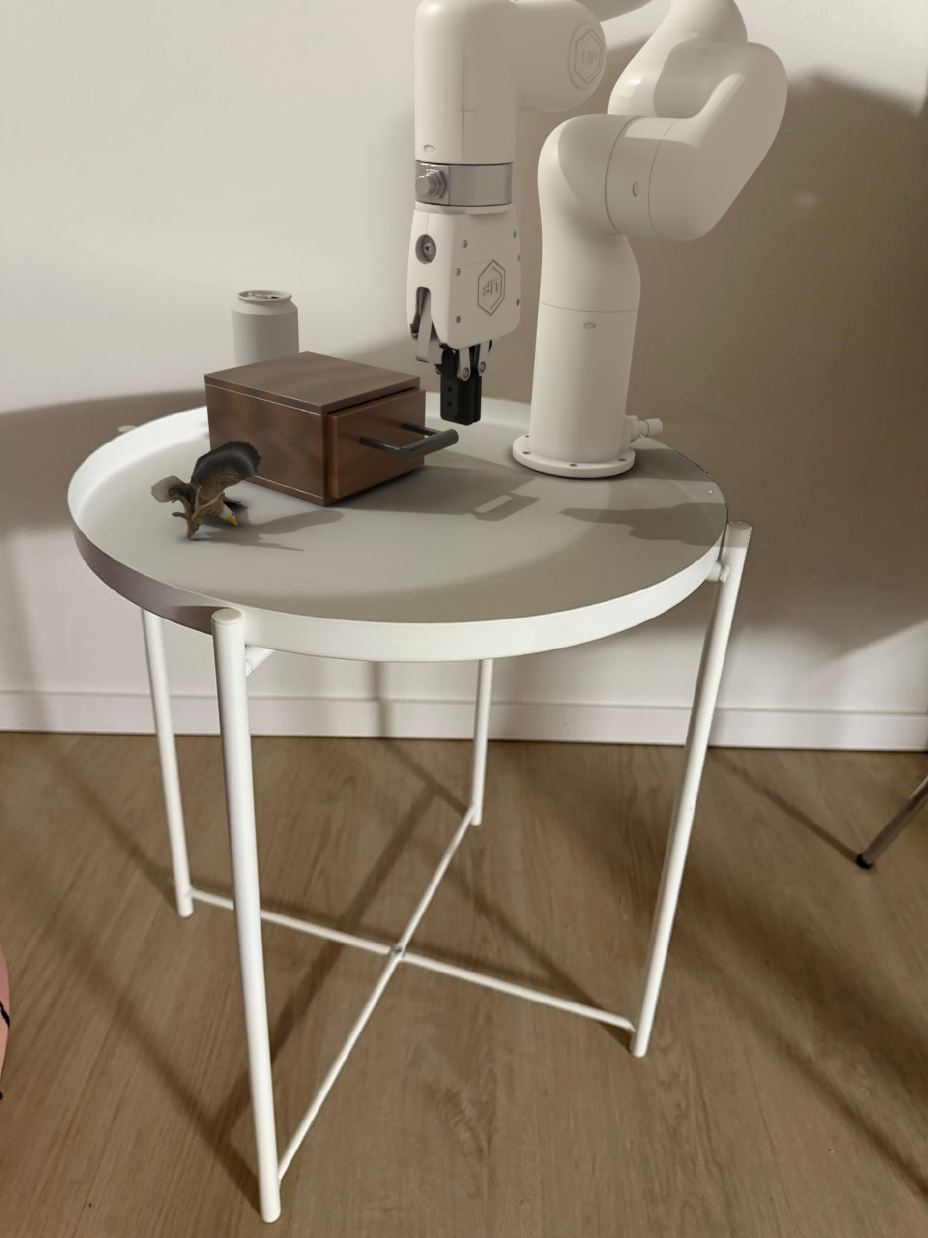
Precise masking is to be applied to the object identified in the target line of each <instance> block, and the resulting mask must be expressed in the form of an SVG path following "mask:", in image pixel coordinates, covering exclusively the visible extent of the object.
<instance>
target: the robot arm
mask: <svg viewBox="0 0 928 1238" xmlns="http://www.w3.org/2000/svg"><path fill="white" fill-rule="evenodd" d="M652 1H653V0H421V2H420V3H419V5H418V7H416V11H415V15H414V28H413V29H414V30H413V41H414V42H413V45H414V46H413V48H414V49H413V54H414V55H413V57H414V60H413V61H414V62H413V63H414V66H413V67H414V159H415V160H414V184H415V185H414V195H415V197H414V201H415V202H414V204H415V205H414V207H415V209H413V214H412V221H411V229H410V237H409V247H408V256H407V271H406V322H407V331H408V333H409V336H410V338H411V339H412V340H414V341H416V348H415V359H416V361H417V362H421V363H426V364H432V365H433V366H434V369H435V373H436V375H438V376H440V377H439V380H440V381H439V387H440V388H439V416H440V419H441V420H443V421H446V422H450V423H453V424H457V425H462V426H465V427H469V426H471V425H473V424H476V423H477V422H480V421H481V419H482V393H483V375H484V374H485V372H486V370H487V367H488V366H487V365H488V359H489V353H490V351H491V349H492V348H493V347H494V346H495V345H496V344H498V343H499V342H500V341H502V339H504V336H505V335H508V334H510V333H511V332H513V331H514V330H515V329H516V328H517V327H518V325H519V324H520V320H521V319H520V318H521V299H522V298H521V297H522V287H521V286H522V274H521V273H522V272H521V271H522V269H521V268H522V267H521V242H520V229H519V219H518V215H517V209H516V208H517V207H516V205H515V204H514V185H515V183H514V182H515V181H514V180H515V158H516V138H517V137H516V133H517V111H520V112H534V113H535V112H537V113H557V112H565V111H568V110H571V109H574V108H576V107H578V106H580V105H581V104H583V103H584V102H586V101H587V100H589V98H590V97H591V96H592V95H593V94H594V92H595V91H596V90H597V88H598V87H599V85H600V83H601V81H602V79H603V77H604V74H605V71H606V65H607V57H608V46H607V45H608V44H607V39H606V34H605V31H604V29H603V26H602V24H601V23H603V22H606V21H610V20H612V19H615V18H619V17H621V16H624V15H627V14H629V13H632V12H634V11H636V10H639V9H641V8H644V7H645V6H646V5H648V4H649V3H651V2H652ZM668 3H669V4H668V11H667V14H666V16H665V18H664V19H663V21H662V22H661V23H660V24H659V26H658V27H657V29H656V30H655V31H654V32H653V33H652V34H651V36H650V37H649V38H648V40H647V41H646V42H645V44H644V45H643V46H642V47H641V48H640V49H639V50H638V52H637V53H636V54H635V56H634V57H633V58H632V59H631V61H630V62H629V63H628V64H627V65H626V67H625V69H624V70H623V71H622V72H621V74H620V75H619V78H618V79H617V80H616V82H615V84H614V86H613V88H612V90H611V93H610V96H609V100H608V105H607V113H593V114H591V113H590V114H583V115H578V116H575V117H572V118H569V119H567V120H565V121H563V122H561V123H560V124H559V125H557V126H556V127H555V128H553V130H552V131H551V132H550V134H549V135H548V136H547V138H546V140H545V141H544V144H543V145H542V148H541V151H540V153H539V159H538V165H537V192H538V199H539V209H540V210H539V212H540V220H541V239H542V240H541V241H542V244H541V245H542V248H541V250H542V251H541V270H540V271H541V272H540V273H541V275H540V286H539V299H538V312H537V313H538V314H537V325H536V337H535V349H534V365H533V375H532V376H533V377H532V391H531V401H530V415H529V429H528V433H526V434H523V435H521V436H519V437H518V438H516V439H515V440H514V441H513V445H512V457H513V458H514V459H515V461H517V462H518V463H519V464H520V465H523V466H524V467H527V469H531V470H533V471H536V472H540V473H544V474H547V475H553V476H558V477H566V478H578V479H579V478H580V479H591V478H593V479H594V478H606V477H611V476H617V475H619V474H622V473H625V472H627V471H629V470H630V469H631V468H632V467H634V464H635V461H636V460H635V459H636V452H635V450H634V448H633V447H632V446H631V443H635V442H636V441H637V440H638V439H641V438H642V437H641V436H640V435H642V436H644V437H647V438H646V439H649V438H650V439H651V438H659V437H660V436H662V434H663V431H664V426H663V425H664V424H663V421H662V420H661V419H660V418H658V417H657V418H649V419H648V418H647V419H642V420H639V418H638V416H637V415H627V414H626V409H627V402H628V401H627V400H628V393H629V384H630V377H631V369H632V362H633V361H632V360H633V355H634V354H633V352H634V346H635V345H634V344H635V338H636V337H635V336H636V329H637V321H638V313H639V306H640V299H641V289H642V287H641V275H640V270H639V266H638V263H637V260H636V257H635V254H634V251H633V249H632V247H631V245H630V242H629V240H628V237H627V236H633V237H642V238H650V239H656V240H657V239H658V240H665V241H666V240H667V241H682V242H685V241H693V240H696V239H699V238H701V237H703V236H705V235H706V234H708V233H709V232H710V231H712V229H713V228H714V227H715V226H716V225H717V224H718V223H719V222H720V221H721V220H722V218H723V217H724V215H725V214H726V212H727V211H728V210H729V208H730V207H731V205H732V204H733V203H734V202H735V200H736V198H737V197H738V195H739V194H740V192H741V191H742V190H743V188H744V187H745V185H746V184H747V183H748V182H749V180H750V178H751V177H752V176H753V174H754V173H755V171H756V170H757V169H758V167H759V166H760V164H761V163H762V162H763V160H764V159H765V157H766V155H767V154H768V153H769V150H770V149H771V148H772V146H773V143H774V141H775V139H776V137H777V135H778V133H779V130H780V127H781V125H782V121H783V118H784V115H785V109H786V105H787V98H788V79H787V78H788V77H787V73H786V72H787V71H786V68H785V66H784V64H783V61H782V59H781V58H780V56H779V55H778V54H777V53H776V51H775V50H773V49H772V48H771V47H769V46H767V45H766V44H765V45H764V44H762V43H759V42H752V41H748V38H749V37H748V31H747V26H746V24H745V21H744V18H743V14H742V13H741V10H740V8H739V7H738V5H737V3H736V1H735V0H668ZM642 439H643V438H642Z"/></svg>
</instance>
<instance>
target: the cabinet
mask: <svg viewBox="0 0 928 1238" xmlns="http://www.w3.org/2000/svg"><path fill="white" fill-rule="evenodd" d="M203 383H204V392H205V393H204V394H205V403H206V404H205V405H206V414H207V416H206V417H207V426H208V441H209V451H210V450H213V449H215V448H217V447H218V446H221V445H222V444H224V443H225V442H229V441H234V440H235V441H238V440H239V441H244V442H249V443H250V445H253V446H254V448H255V449H257V450H258V455H260V456H261V460H260V466H259V467H258V468H257V469H258V472H257V473H256V474H255V475H254V476H252V477H250V478H248V479H245V480H244V481H247V482H250V483H253V484H256V485H259V486H261V487H265V488H267V489H270V490H273V491H277V492H279V493H282V494H286V495H288V496H292V497H294V498H298V499H300V500H303V501H306V502H309V503H311V504H315V505H318V506H321V507H326V506H329V505H331V504H334V503H337V502H338V501H341V500H343V499H346V498H349V497H351V496H353V495H356V494H358V493H361V492H364V491H366V490H368V489H371V488H373V487H375V486H378V485H380V484H383V483H386V482H389V481H391V480H393V479H396V478H398V477H400V476H403V475H406V474H407V473H410V472H413V471H415V470H418V469H419V466H418V467H415V468H413V469H410V470H408V471H405V472H403V473H400V474H398V475H395V476H393V477H390V478H388V479H386V480H383V481H381V482H378V483H376V484H373V485H371V486H368V487H366V488H363V489H361V490H358V491H356V492H353V493H351V494H348V495H346V496H343V497H341V498H335V497H332V496H329V494H328V455H327V416H326V415H327V413H329V412H332V411H335V410H339V409H342V408H345V407H349V406H352V405H355V404H358V403H362V402H365V401H368V400H372V399H375V398H378V397H382V396H385V395H388V394H392V393H395V392H398V391H400V392H403V391H407V390H410V389H413V388H420V389H421V387H420V386H421V376H418V375H413V374H410V373H405V372H401V371H396V370H391V369H388V368H383V367H379V366H375V365H370V364H366V363H362V362H357V361H352V360H348V359H344V358H340V357H336V356H331V355H326V354H323V353H318V352H313V351H310V350H305V351H301V352H299V353H296V354H292V355H287V356H283V357H279V358H274V359H270V360H266V361H261V362H257V363H252V364H248V365H244V366H239V367H235V366H234V367H230V368H226V369H222V370H218V371H213V372H209V373H204V374H203Z"/></svg>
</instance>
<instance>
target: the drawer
mask: <svg viewBox="0 0 928 1238" xmlns="http://www.w3.org/2000/svg"><path fill="white" fill-rule="evenodd" d="M426 401H427V389H423V388H421V387H420V388H413V389H410V390H407V391H403V392H400V391H398V392H395V393H392V394H388V395H385V396H382V397H378V398H375V399H372V400H368V401H365V402H362V403H358V404H355V405H352V406H349V407H345V408H342V409H339V410H335V411H332V412H329V413H327V415H326V416H327V455H328V494H329V496H332V497H335V498H341V497H343V496H346V495H348V494H351V493H353V492H356V491H358V490H361V489H363V488H366V487H368V486H371V485H373V484H376V483H378V482H381V481H383V480H386V479H388V478H390V477H393V476H395V475H398V474H400V473H403V472H405V471H408V470H410V469H413V468H415V467H418V468H419V467H420V466H423V465H425V456H428V455H431V454H433V453H436V452H438V451H440V450H443V449H445V448H448V447H451V446H454V445H456V444H458V442H459V439H460V435H459V433H458V430H456V429H454V428H449V429H446V430H443V431H442V430H438V429H435V428H431V427H427V426H426V409H427V408H426V407H427V406H426V404H427V403H426Z"/></svg>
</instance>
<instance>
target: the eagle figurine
mask: <svg viewBox="0 0 928 1238" xmlns="http://www.w3.org/2000/svg"><path fill="white" fill-rule="evenodd" d="M260 460H261V456H260V455H258V450H257V449H255V448H254V446H253V445H250V443H249V442H244V441H239V440H238V441H235V440H234V441H229V442H225V443H224V444H222V445H221V446H218V447H217V448H215V449H213V450H210V449H209V451H208V452H206V453H204V454H202V455H200V456H199V457H198V458H197V459H196V461H195V465H194V468H193V471H192V474H191V476H190V481H189V482H185V481H183V480H181V479H180V478H179V477H177V475H171V474H170V475H169V476H166V477H163V478H161V479H159V480H158V481H156V482H154V483H153V484H152V485H151V486H150V494H151V496H152V497H153V498H154V500H155V501H156V502H158V503H161V504H162V503H163V504H164V503H169V502H171V504H174V503H176V502H177V501H179V502H180V503H181V504H182V506H183V509H184V512H180V511H173V512H172V513H171V516H172V517H173V518H174V517H175V518H181V519H184V520H186V527H187V529H186V538H187V540H190V539H191V538H192V537H193V536H194V535H195V533H196V532H197V531H198V530H200V527H201V526H202V521H203V518H204V516H205V514H210V515H213V516H218V517H220V518H222V519H223V520H226V521H228V522H230V523H231V524H233V525H234V526H235V527H236V526H237V525H238V523H237V520H236V518H235V517H236V515H235V513H234V511H232V509H230V507H229V506H227V505H226V503H235V504H242V501H239V500H235V499H231V498H228V497H227V496H226V492H225V489H227V488H230V487H234V486H235V485H238V484H239V483H240V482H242V481H246V480H245V479H248V478H250V477H252V476H254V475H255V474H256V473H257V472H258V469H257V468H258V467H259V466H260Z"/></svg>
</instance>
